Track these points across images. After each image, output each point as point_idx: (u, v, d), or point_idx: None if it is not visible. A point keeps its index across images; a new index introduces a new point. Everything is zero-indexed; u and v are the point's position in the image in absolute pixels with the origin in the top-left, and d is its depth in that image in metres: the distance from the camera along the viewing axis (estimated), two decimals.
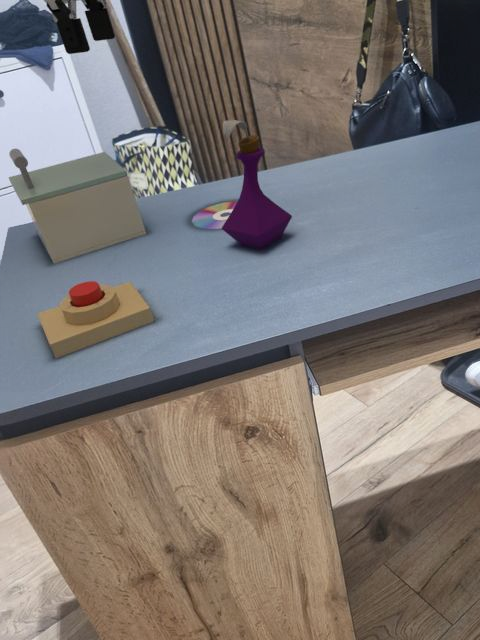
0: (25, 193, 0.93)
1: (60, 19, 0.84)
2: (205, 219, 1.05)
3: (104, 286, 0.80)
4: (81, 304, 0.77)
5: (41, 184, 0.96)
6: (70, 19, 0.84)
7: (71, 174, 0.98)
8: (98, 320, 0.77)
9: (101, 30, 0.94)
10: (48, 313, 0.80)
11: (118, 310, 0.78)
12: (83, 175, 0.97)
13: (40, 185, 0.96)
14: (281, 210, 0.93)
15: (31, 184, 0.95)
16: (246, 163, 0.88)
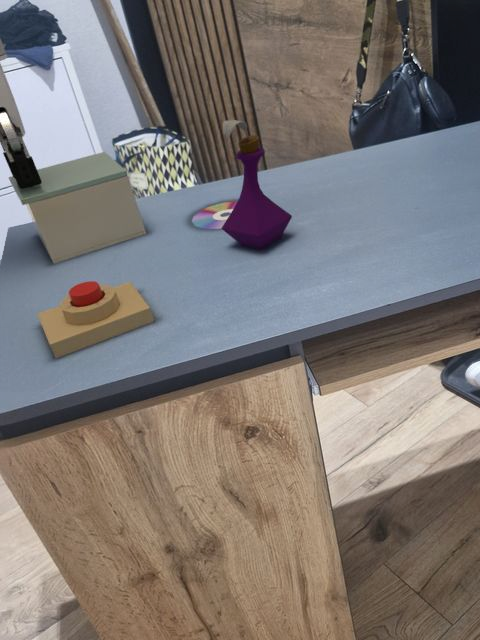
0: (25, 193, 0.93)
1: (17, 160, 0.91)
2: (205, 219, 1.05)
3: (104, 286, 0.80)
4: (81, 304, 0.77)
5: (41, 184, 0.96)
6: (26, 158, 0.92)
7: (71, 174, 0.98)
8: (98, 320, 0.77)
9: None
10: (48, 313, 0.80)
11: (118, 310, 0.78)
12: (83, 175, 0.97)
13: (40, 185, 0.96)
14: (281, 210, 0.93)
15: None
16: (246, 163, 0.88)
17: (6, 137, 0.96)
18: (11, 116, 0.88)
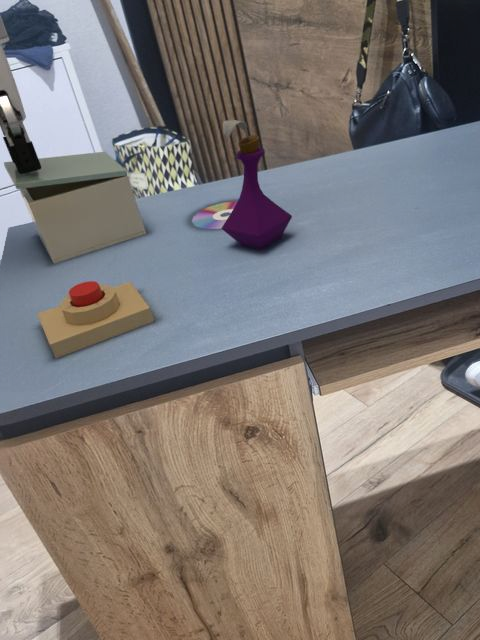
0: (21, 178, 0.92)
1: (17, 144, 0.90)
2: (205, 219, 1.05)
3: (104, 286, 0.80)
4: (81, 304, 0.77)
5: (38, 172, 0.95)
6: (26, 143, 0.91)
7: (70, 167, 0.98)
8: (98, 320, 0.77)
9: None
10: (48, 313, 0.80)
11: (118, 310, 0.78)
12: (82, 169, 0.97)
13: (37, 172, 0.95)
14: (281, 210, 0.93)
15: None
16: (246, 163, 0.88)
17: (6, 121, 0.95)
18: (12, 99, 0.87)
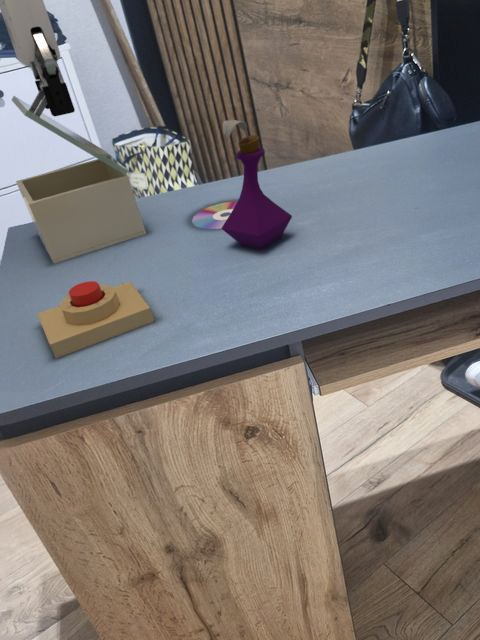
0: (32, 111, 0.89)
1: (51, 84, 0.89)
2: (205, 219, 1.05)
3: (104, 286, 0.80)
4: (81, 304, 0.77)
5: (47, 119, 0.93)
6: (60, 84, 0.90)
7: (76, 137, 0.96)
8: (98, 320, 0.77)
9: None
10: (48, 313, 0.80)
11: (118, 310, 0.78)
12: (88, 145, 0.96)
13: (46, 119, 0.92)
14: (281, 210, 0.93)
15: (41, 111, 0.91)
16: (246, 163, 0.88)
17: None
18: (47, 37, 0.86)
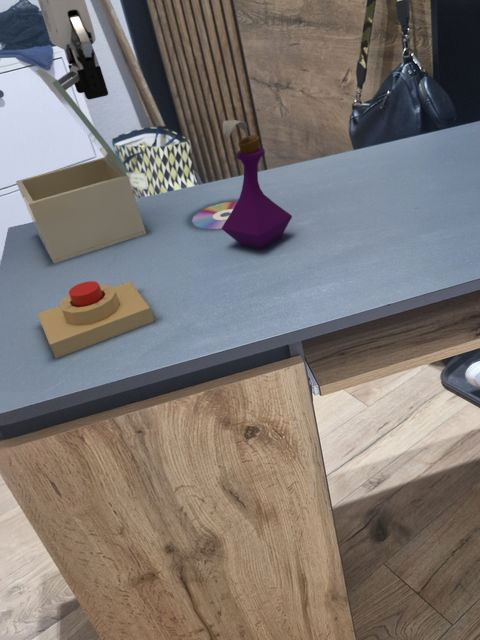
0: None
1: (86, 67, 0.90)
2: (205, 219, 1.05)
3: (104, 286, 0.80)
4: (81, 304, 0.77)
5: None
6: (95, 67, 0.91)
7: None
8: (98, 320, 0.77)
9: None
10: (48, 313, 0.80)
11: (118, 310, 0.78)
12: None
13: None
14: (281, 210, 0.93)
15: (66, 88, 0.92)
16: (246, 163, 0.88)
17: (71, 50, 0.96)
18: (83, 20, 0.87)
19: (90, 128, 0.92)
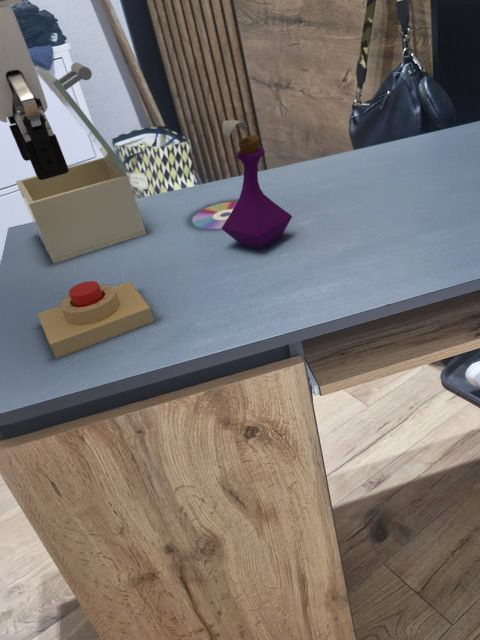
0: None
1: (35, 138, 0.64)
2: (205, 219, 1.05)
3: (104, 286, 0.80)
4: (81, 304, 0.77)
5: None
6: (48, 136, 0.65)
7: None
8: (98, 320, 0.77)
9: None
10: (48, 313, 0.80)
11: (118, 310, 0.78)
12: None
13: None
14: (281, 210, 0.93)
15: (66, 88, 0.92)
16: (246, 163, 0.88)
17: None
18: (29, 83, 0.63)
19: (90, 128, 0.92)
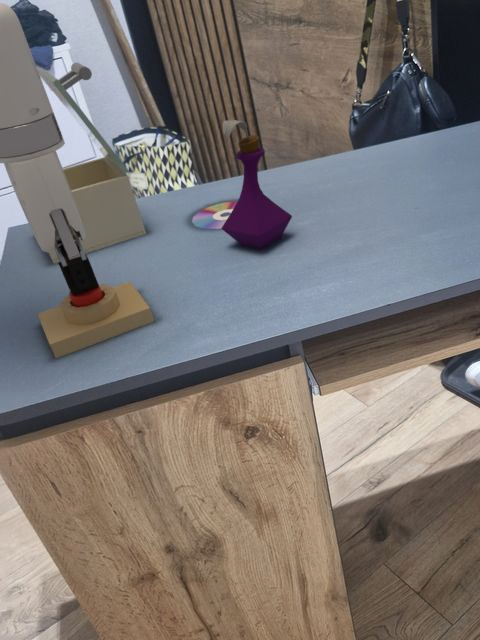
0: None
1: (71, 264, 0.74)
2: (205, 219, 1.05)
3: (104, 286, 0.80)
4: (82, 305, 0.77)
5: None
6: (82, 261, 0.74)
7: None
8: (98, 320, 0.77)
9: None
10: (48, 313, 0.80)
11: (118, 310, 0.78)
12: None
13: None
14: (281, 210, 0.93)
15: (66, 88, 0.92)
16: (246, 163, 0.88)
17: None
18: (70, 219, 0.68)
19: (90, 128, 0.92)
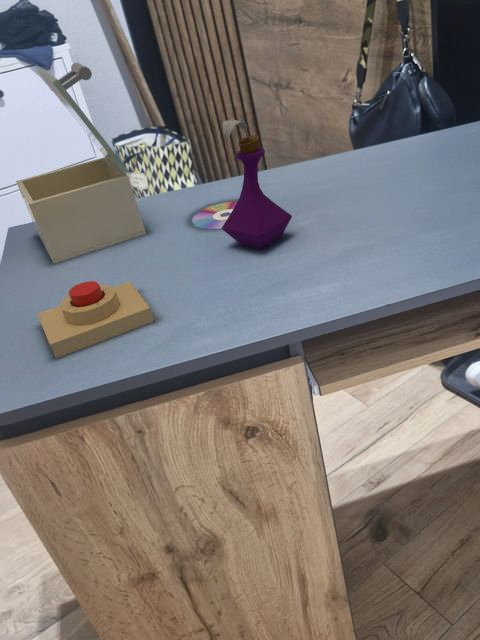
0: None
1: None
2: (205, 219, 1.05)
3: (104, 286, 0.80)
4: (81, 304, 0.77)
5: None
6: None
7: None
8: (98, 320, 0.77)
9: None
10: (48, 313, 0.80)
11: (118, 310, 0.78)
12: None
13: None
14: (281, 210, 0.93)
15: (66, 88, 0.92)
16: (246, 163, 0.88)
17: None
18: None
19: (90, 128, 0.92)
